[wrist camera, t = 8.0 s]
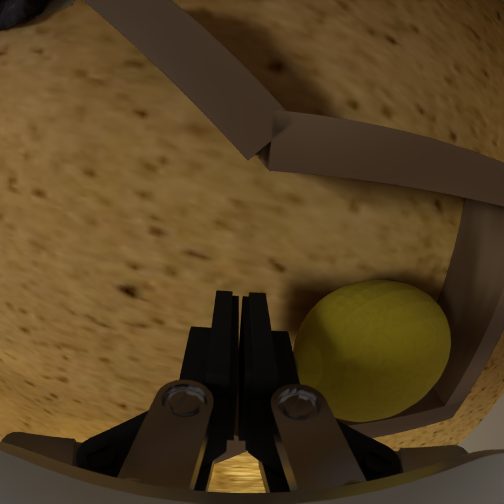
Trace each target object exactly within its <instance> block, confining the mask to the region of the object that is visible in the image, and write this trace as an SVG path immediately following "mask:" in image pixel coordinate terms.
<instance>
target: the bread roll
mask: <svg viewBox="0 0 504 504" xmlns="http://www.w3.org/2000/svg"><path fill="white" fill-rule="evenodd" d="M74 1H75V0H0V30H2V29H6V28H9V27H11V26H13V25H15V24H17V23H22V22H25V23H26V22H28V21H30V20H31V19H34V18H36V17H39V16H42V15H45V14H49V13H51V12H54V11H57V10H60V9H63V8H66V7H68V6H71V5H73V2H74ZM81 1H83V0H81Z"/></svg>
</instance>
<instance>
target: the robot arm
mask: <svg viewBox="0 0 504 504" xmlns="http://www.w3.org/2000/svg"><path fill="white" fill-rule="evenodd" d="M237 392H238V438H239V441H245V450H248V453H250V454H251V455H252V456H254V457H255V458H256V459H258V462H259V469H260V473H261V477H262V480H263V484H264V488H265V491H266V493H222V492H208V488H209V484H210V480H211V476H212V472H213V468H214V460H215V459H217V458H218V457H220V456H221V455H222V454H224V453H225V452H227V440H231V441H234V432H235V418H236V405H237ZM0 504H504V449H497V450H483V451H477V452H473V453H469V454H468V452H467V451H466V450H465V449H464V448H462V447H460V446H458V445H445V446H433V447H416V448H400V449H399V451H394V450H392V449H391V448H389V447H388V446H386V445H384V444H382V443H380V442H378V441H376V440H374V439H372V438H370V437H368V436H366V435H364V434H362V433H360V432H358V431H357V430H355V429H353V428H351V427H349V426H347V425H345V424H344V423H342V422H340V421H338V420H336V419H335V417H334V415H333V413H332V411H331V409H330V407H329V405H328V403H327V401H326V399H325V398H324V396H323V395H322V394H321V393H320V392H319V391H318V390H316V389H315V388H312V387H310V386H308V385H302V384H300V381H299V377H298V373H297V368H296V364H295V359H294V355H293V351H292V346H291V342H290V338H289V334H288V332H287V331H271V325H270V318H269V312H268V306H267V299H266V294H265V293H251V292H249V297H247V296H243V299H242V312H241V325H240V339H239V296H232V291H216V298H215V305H214V313H213V320H212V328H206V327H191V329H190V332H189V337H188V341H187V346H186V351H185V355H184V360H183V364H182V369H181V374H180V379H179V380H176V381H172V382H170V383H167V384H166V385H164V386H163V387H161V388H160V390H159V391H158V392H157V394H156V396H155V398H154V400H153V402H152V404H151V406H150V409H149V410H148V411H146V412H144V413H142V414H140V415H138V416H136V417H134V418H132V419H130V420H128V421H126V422H124V423H122V424H120V425H118V426H115V427H113V428H111V429H109V430H107V431H105V432H102V433H100V434H98V435H96V436H93V437H91V438H89V439H88V440H86V441H84V442H83V443H80V442H76V440H75V439H70V438H60V437H51V436H43V435H36V434H30V433H24V432H12V433H10V434H7V435H6V436H5V437H4V438H3V439H2V441H1V442H0Z"/></svg>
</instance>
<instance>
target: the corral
mask: <svg viewBox="0 0 504 504" xmlns="http://www.w3.org/2000/svg"><path fill="white" fill-rule="evenodd" d="M83 1H85V2H86V3H87V4H88V5H89V6H90V7H92V8H93V9H94V10H95V11H96V12H97V13H99V14H100V15H101V16H102V17H103V18H104V19H106V20H107V21H108V22H109V23H110V24H111V25H112V26H113V27H115V28H116V29H117V30H118V31H119V32H120V33H121V34H122V35H123V36H125V37H126V38H127V39H128V40H129V41H130V42H131V43H132V44H133V45H134V46H135V47H137V48H138V49H139V50H140V51H141V52H142V53H143V54H144V55H145V56H146V57H147V58H148V59H149V60H150V61H151V62H152V63H154V64H155V65H156V66H157V67H158V68H159V69H160V70H161V71H162V72H163V73H164V74H165V75H166V76H167V77H168V78H169V79H170V80H171V81H172V82H173V83H174V84H175V85H176V86H177V87H178V88H179V89H180V90H181V91H182V92H183V93H184V94H185V95H186V96H187V97H188V98H189V99H190V100H191V101H192V102H193V103H194V104H195V105H196V106H197V107H198V108H199V109H200V110H201V111H202V112H203V113H204V114H205V115H206V116H207V117H208V118H209V119H210V121H211V122H212V123H213V124H214V125H215V126H216V127H217V128H218V129H219V130H220V131H221V132H222V133H223V134H224V135H225V136H226V137H227V138H228V140H229V141H230V142H231V143H232V144H233V145H234V146H235V147H236V148H237V149H238V150H239V151H240V153H241V154H242V155H243V156H244V157H245V158H246V159H247V160H249V159H250V158H251V157H253V156H254V155H255V154H256V153H257V152H258V151H259V159H260V161H261V162H262V163H263V164H264V165H265V166H266V168H267V169H268V170H269V171H280V172H292V173H304V174H314V175H324V176H333V177H342V178H350V179H358V180H365V181H373V182H380V183H387V184H393V185H400V186H406V187H412V188H418V189H423V190H429V191H434V192H440V193H445V194H450V195H455V196H460V197H464V198H465V203H464V209H463V213H462V218H461V223H460V227H459V232H458V236H457V240H456V244H455V248H454V252H453V255H452V259H451V262H450V266H449V269H448V273H447V276H446V279H445V282H444V285H443V289H442V292H441V295H440V297H439V300H438V303H437V304H438V305H439V306H440V307H441V309H442V311H443V312H444V314H445V316H446V318H447V321H448V325H449V328H450V334H451V348H450V354H449V359H448V362H447V364H446V367H445V369H444V371H443V373H442V375H441V377H440V378H439V380H438V381H437V382H436V383H435V385H434V386H433V387H432V388H431V389H430V390H429V392H428V393H427V394H426V395H425V396H424V397H423V398H422V399H421V400H419V401H418V402H417V403H415V404H413V405H412V406H410V407H409V408H407V409H405V410H404V411H402V412H400V413H398V414H396V415H394V416H391V417H388V418H384V419H379V420H373V421H368V422H353V421H347V420H342V419H338V418H335V419H336V420H338V421H340V422H342V423H344V424H345V425H347V426H349V427H351V428H353V429H355V430H357V431H358V432H360V433H362V434H364V435H366V436H368V437H370V438H375V437H380V436H385V435H390V434H395V433H399V432H403V431H408V430H412V429H416V428H419V427H423V426H427V425H430V424H434V423H437V422H441V421H444V420H447V419H450V418H452V417H453V416H454V415H455V413H456V412H457V410H458V409H459V407H460V406H461V404H462V403H463V401H464V400H465V398H466V397H467V395H468V394H469V392H470V390H471V389H472V387H473V386H474V384H475V382H476V381H477V379H478V377H479V376H480V374H481V372H482V370H483V369H484V367H485V365H486V363H487V361H488V360H489V358H490V356H491V354H492V352H493V350H494V348H495V346H496V344H497V342H498V340H499V338H500V336H501V334H502V332H503V330H504V163H503V162H500V161H498V160H495V159H493V158H490V157H487V156H485V155H482V154H479V153H476V152H473V151H470V150H467V149H464V148H461V147H458V146H455V145H452V144H449V143H445V142H442V141H439V140H435V139H432V138H428V137H424V136H421V135H417V134H413V133H409V132H405V131H401V130H397V129H392V128H388V127H383V126H379V125H374V124H369V123H364V122H358V121H353V120H347V119H341V118H335V117H329V116H322V115H315V114H307V113H299V112H290V111H286V110H285V109H284V108H283V107H282V105H281V104H280V103H279V102H278V101H277V100H276V99H275V98H274V97H273V96H272V94H271V93H270V92H269V91H268V90H267V89H266V88H265V87H264V86H263V85H262V84H261V83H260V82H259V81H258V80H257V78H256V77H255V76H254V75H253V74H252V73H251V72H250V71H249V70H248V69H247V68H246V67H245V66H244V65H243V64H242V63H241V62H240V61H239V60H238V59H237V58H236V57H235V56H234V55H233V54H232V53H231V52H230V51H229V50H228V49H226V48H225V47H224V46H223V45H222V44H221V43H220V42H219V41H218V40H217V39H216V38H215V37H214V36H213V35H212V34H210V33H209V32H208V31H207V30H206V29H205V28H204V27H203V26H202V25H200V24H199V23H198V22H197V21H196V20H195V19H194V18H192V17H191V16H190V15H189V14H188V13H186V12H185V11H184V10H183V9H182V8H180V7H179V6H178V5H177V4H176V3H174V2H173V1H172V0H83ZM246 451H248V450H245V441H239V438H238V392H237V405H236V418H235V432H234V441H231V440H227V452H225V453H224V454H222V455H221V456H220V457H218V458H217V459H215V460H214V464H216V463H218V462H221V461H224V460H226V459H229V458H231V457H234V456H236V455H239V454H241V453H243V452H246Z"/></svg>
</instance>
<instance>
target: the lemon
mask: <svg viewBox="0 0 504 504" xmlns="http://www.w3.org/2000/svg"><path fill="white" fill-rule="evenodd" d="M450 348H451V334H450V328H449V325H448V321H447V318H446V316H445V314H444V312H443V311H442V309H441V307H440V306H439V305H438V304H437V303H436V302H435V301H434V300H433V299H432V297H430V296H429V295H428V294H426V293H425V292H423V291H421V290H419V289H418V288H416V287H414V286H412V285H409V284H406V283H401V282H396V281H391V280H383V279H378V280H369V281H362V282H356V283H352V284H348V285H346V286H344V287H341V288H339V289H337V290H335V291H333V292H332V293H330V294H328V295H326V296H325V297H324V298H322V299H321V300H320V301H319V302H318V303H317V304H316V305H315V306H314V307H313V308H312V309H311V310H310V311H309V313H308V314H307V315H306V317H305V319H304V321H303V322H302V324H301V326H300V327H299V330H298V333H297V336H296V339H295V344H294V350H293V355H294V359H295V364H296V368H297V373H298V377H299V381H300V384H302V385H308V386H310V387H312V388H315V389H316V390H318V391H319V392H320V393H321V394H322V395H323V396H324V398H325V399H326V401H327V403H328V405H329V407H330V409H331V411H332V413H333V415H334V417H335V418H338V419H342V420H347V421H353V422H368V421H373V420H379V419H384V418H388V417H391V416H394V415H396V414H398V413H400V412H402V411H404V410H405V409H407V408H409V407H410V406H412V405H413V404H415V403H417V402H418V401H419V400H421V399H422V398H423V397H424V396H425V395H426V394H427V393H428V392H429V390H430V389H431V388H432V387H433V386H434V385H435V383H436V382H437V381H438V380H439V378H440V377H441V375H442V373H443V371H444V369H445V367H446V364H447V362H448V359H449V354H450Z"/></svg>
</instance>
